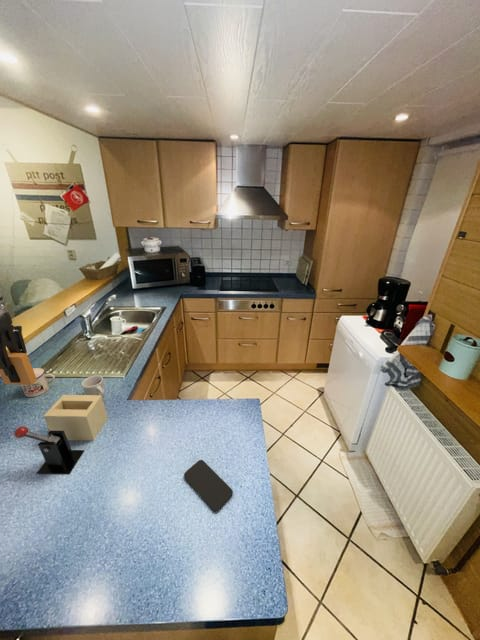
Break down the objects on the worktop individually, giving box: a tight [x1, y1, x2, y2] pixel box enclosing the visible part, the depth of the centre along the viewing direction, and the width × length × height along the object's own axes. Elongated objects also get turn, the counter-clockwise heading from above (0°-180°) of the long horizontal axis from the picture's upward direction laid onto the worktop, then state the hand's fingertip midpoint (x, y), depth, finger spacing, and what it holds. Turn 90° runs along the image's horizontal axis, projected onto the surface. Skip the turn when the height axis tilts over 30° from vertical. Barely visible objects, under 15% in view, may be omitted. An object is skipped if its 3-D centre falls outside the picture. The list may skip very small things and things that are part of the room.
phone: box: [183, 459, 234, 513], centre depth 74 cm, size 7×1×15 cm
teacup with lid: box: [20, 367, 56, 398], centre depth 108 cm, size 12×9×12 cm
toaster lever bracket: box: [35, 430, 85, 475], centre depth 77 cm, size 10×8×12 cm
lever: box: [13, 425, 61, 445], centre depth 74 cm, size 12×3×3 cm, turn 91°
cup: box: [81, 374, 106, 398], centre depth 105 cm, size 11×8×8 cm
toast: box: [0, 352, 37, 386], centre depth 82 cm, size 9×2×11 cm, turn 90°
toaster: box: [43, 394, 109, 441], centre depth 89 cm, size 14×10×12 cm
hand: (19, 378), depth 84 cm, fingers closed on toast, 2 cm apart
